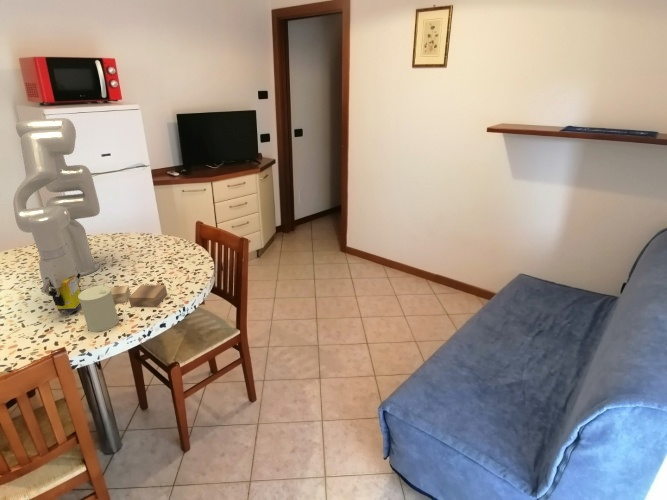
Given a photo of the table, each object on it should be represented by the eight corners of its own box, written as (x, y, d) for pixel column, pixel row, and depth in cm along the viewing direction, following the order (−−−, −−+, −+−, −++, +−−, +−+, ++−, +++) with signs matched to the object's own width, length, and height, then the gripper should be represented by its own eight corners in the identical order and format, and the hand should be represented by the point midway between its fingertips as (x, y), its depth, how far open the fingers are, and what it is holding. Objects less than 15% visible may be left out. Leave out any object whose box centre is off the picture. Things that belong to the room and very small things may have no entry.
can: (112, 331, 128) (103, 297, 123) (81, 332, 128) (71, 299, 123) (123, 315, 137) (115, 283, 132) (95, 316, 136) (85, 284, 131)
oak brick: (109, 305, 143) (106, 295, 141) (112, 297, 148) (110, 287, 147) (127, 302, 144) (125, 292, 143) (130, 294, 150) (128, 285, 148)
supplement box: (66, 301, 142) (57, 274, 137) (84, 300, 142) (75, 273, 137) (57, 311, 136) (47, 282, 132) (76, 310, 137) (66, 282, 132)
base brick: (131, 307, 142) (128, 297, 140) (143, 294, 150) (141, 285, 148) (156, 307, 141) (154, 297, 140) (167, 294, 149) (165, 285, 148)
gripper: (63, 240, 139) (77, 285, 146) (19, 263, 123) (38, 312, 131) (83, 241, 138) (96, 287, 145) (41, 265, 122) (58, 314, 130)
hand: (68, 298), depth 138 cm, fingers closed on supplement box, 6 cm apart
